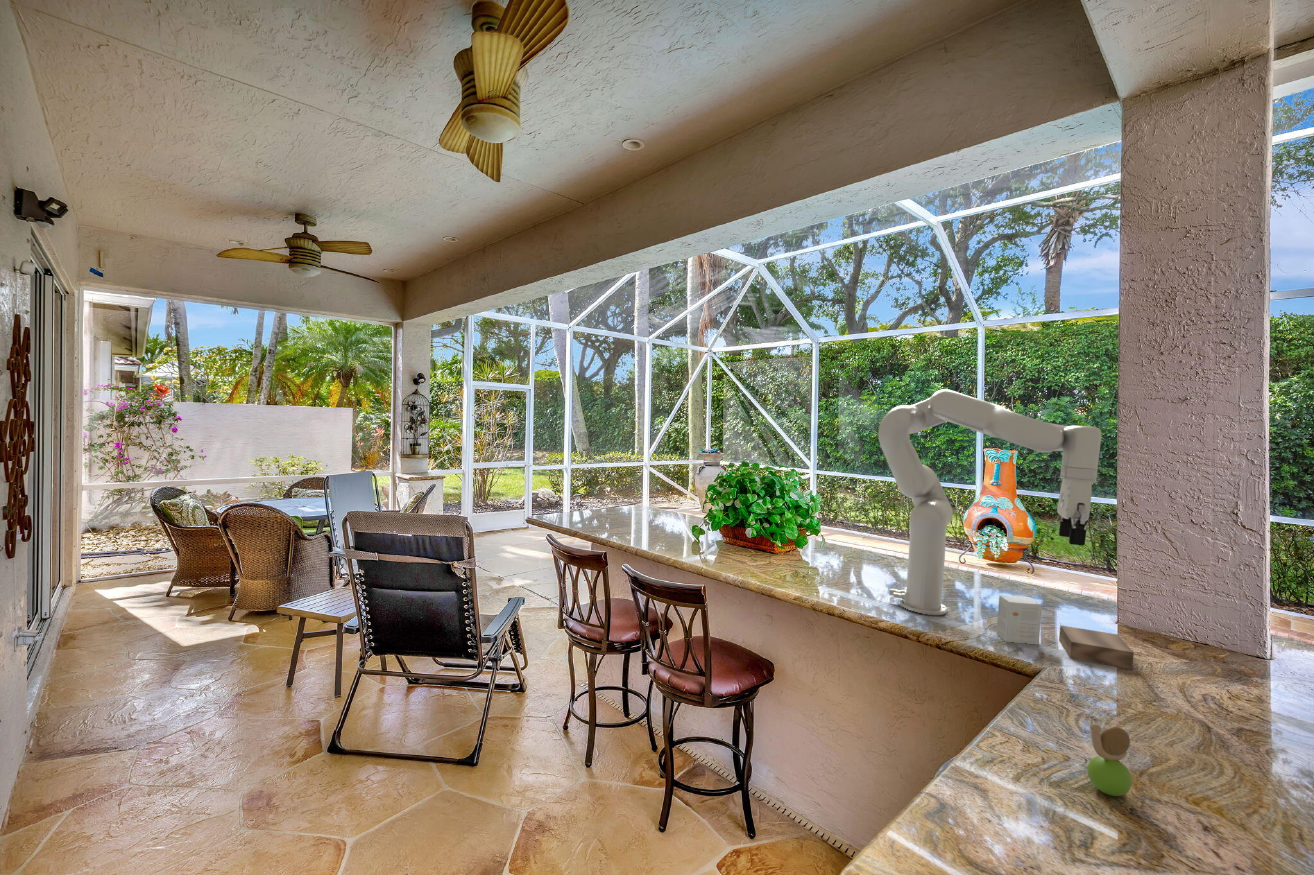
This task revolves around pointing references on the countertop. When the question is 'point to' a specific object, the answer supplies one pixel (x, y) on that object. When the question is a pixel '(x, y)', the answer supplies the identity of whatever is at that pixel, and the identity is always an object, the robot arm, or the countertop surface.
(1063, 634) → the walnut plinth
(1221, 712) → the countertop surface
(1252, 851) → the countertop surface
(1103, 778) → the snail figurine
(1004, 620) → the small box
